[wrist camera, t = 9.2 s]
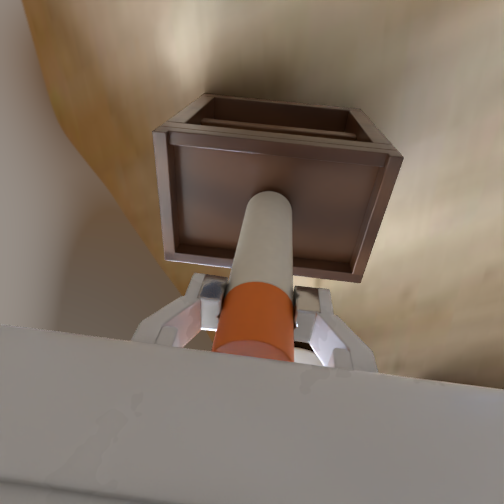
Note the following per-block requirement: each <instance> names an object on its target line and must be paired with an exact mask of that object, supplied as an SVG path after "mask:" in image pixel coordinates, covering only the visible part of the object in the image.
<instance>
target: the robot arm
mask: <svg viewBox="0 0 504 504" xmlns="http://www.w3.org/2000/svg"><path fill="white" fill-rule="evenodd" d="M227 285H228V278H227V277H221V276H215V275H208V274H206V275H205V274H199V273H194V274H193V276H192V279H191V281H190V284H189V286H188V289H187V291H186V294H185V296H181V297H179V298H178V299H176V300H174V301H173V302H171V303H170V304H168V305H166V306H165V307H163V308H162V309H160V310H159V311H157V312H155V313H154V314H152V315H151V316H149V317H148V318H146V319H144V320H143V321H141V322H140V324H139V326H138V327H137V329H136V331H135V333H134V335H133V337H132V339H131V341H126V340H118V339H111V338H102V337H95V336H87V335H80V334H72V333H64V332H56V331H49V330H42V329H33V328H26V327H19V326H11V325H3V324H0V504H504V389H497V388H489V387H481V386H473V385H466V384H458V383H450V382H443V381H435V380H427V379H420V378H412V377H404V376H396V375H389V374H381V373H378V369H377V365H376V362H375V358H374V354H373V351H372V350H371V349H370V348H369V347H368V346H367V345H366V344H365V343H364V342H363V341H362V340H361V339H360V338H359V337H358V336H357V335H356V334H355V333H354V332H353V331H352V330H351V329H350V328H349V327H348V326H347V325H346V324H345V323H344V322H343V321H342V320H341V319H340V318H339V317H338V316H337V315H334V313H333V307H332V301H331V294H330V290H329V289H323V288H311V287H302V286H295V287H294V292H293V313H294V341H299V342H305V343H309V345H310V346H311V348H312V349H313V351H314V352H315V354H316V355H317V357H318V358H319V360H320V361H321V363H322V364H323V366H319V365H311V364H304V363H296V362H288V361H281V360H273V359H265V358H257V357H250V356H242V355H234V354H226V353H219V352H210V351H202V350H195V349H188V348H183V347H184V346H185V345H186V344H187V343H188V342H189V341H190V340H191V339H192V338H193V337H194V336H195V335H197V334H198V333H199V332H200V331H201V329H202V330H212V331H216V330H217V326H218V322H219V318H220V314H221V310H222V306H223V302H224V298H225V294H226V289H227Z"/></svg>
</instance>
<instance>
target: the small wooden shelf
mask: <svg viewBox="0 0 504 504" xmlns="http://www.w3.org/2000/svg"><path fill="white" fill-rule="evenodd" d="M152 133H153V143H154V153H155V163H156V174H157V184H158V194H159V204H160V215H161V225H162V235H163V245H164V256H165V260H168V261H177V262H186V263H194V264H203V265H211V266H219V267H228V268H232V265H233V261H234V257H235V253H236V248H237V244H238V240H239V236H240V232H241V228H242V224H243V220H244V216H245V212H246V208H247V204H248V202H249V201H250V199H251V198H252V197H253V196H255V195H256V194H258V193H261V192H265V191H273V192H277V193H279V194H281V195H283V196H284V197H285V198H286V199H287V200H288V201H289V203H290V205H291V208H292V247H293V275H295V276H304V277H312V278H320V279H329V280H337V281H346V282H354V283H361V280H362V277H363V274H364V271H365V268H366V265H367V262H368V260H369V257H370V254H371V251H372V248H373V245H374V242H375V239H376V237H377V234H378V231H379V228H380V225H381V222H382V219H383V216H384V214H385V211H386V208H387V205H388V202H389V199H390V196H391V193H392V191H393V188H394V185H395V182H396V179H397V176H398V173H399V170H400V168H401V165H402V162H403V159H404V157H403V156H402V155H401V153H400V152H399V151H398V150H397V149H396V148H395V147H394V146H393V145H392V144H391V142H390V141H389V140H388V139H387V138H386V137H385V136H384V135H383V134H382V132H381V131H380V130H379V129H378V128H377V127H376V126H375V125H374V124H373V122H372V121H371V120H370V119H369V118H368V117H367V116H366V115H365V114H364V113H363V111H362V110H361V109H355V108H345V107H335V106H324V105H314V104H304V103H294V102H284V101H274V100H264V99H254V98H244V97H234V96H224V95H214V94H203V95H201V96H200V97H199V98H197V99H196V100H195V101H193V102H192V103H191V104H189V105H188V106H187V107H185V108H184V109H183V110H181V111H180V112H178V113H177V114H176V115H174V116H173V117H172V118H170V119H169V120H168V121H166V122H165V123H163V124H162V125H161V126H159V127H157V128H156V129H155V130H153V131H152Z"/></svg>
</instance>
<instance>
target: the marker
mask: <svg viewBox="0 0 504 504" xmlns="http://www.w3.org/2000/svg"><path fill="white" fill-rule="evenodd" d="M211 352H219V353H226V354H234V355H242V356H250V357H257V358H265V359H273V360H281V361H288V362H294V313H293V247H292V208H291V205H290V203H289V201H288V200H287V199H286V198H285V197H284V196H283V195H281V194H279V193H277V192H273V191H265V192H261V193H258V194H256V195H255V196H253V197H252V198H251V199H250V201H249V202H248V204H247V208H246V212H245V216H244V220H243V224H242V228H241V232H240V236H239V240H238V244H237V248H236V253H235V257H234V261H233V265H232V269H231V273H230V277H229V281H228V285H227V289H226V294H225V298H224V302H223V306H222V310H221V314H220V318H219V322H218V326H217V330H216V334H215V338H214V343H213V347H212V351H211Z"/></svg>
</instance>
